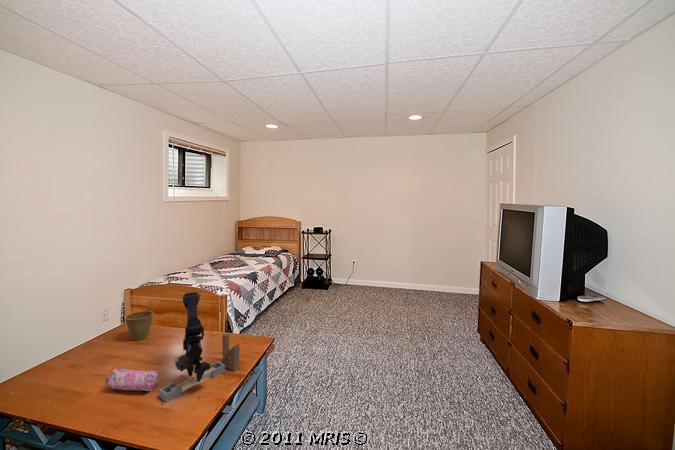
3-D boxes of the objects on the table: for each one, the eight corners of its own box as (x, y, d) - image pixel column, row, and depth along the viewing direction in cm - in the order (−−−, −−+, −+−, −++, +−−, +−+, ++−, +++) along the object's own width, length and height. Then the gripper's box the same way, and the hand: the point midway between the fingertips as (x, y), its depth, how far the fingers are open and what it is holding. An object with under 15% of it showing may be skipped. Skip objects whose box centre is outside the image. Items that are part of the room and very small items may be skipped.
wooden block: (234, 371, 152) (234, 339, 151) (220, 365, 157) (220, 334, 156) (239, 368, 155) (239, 336, 154) (226, 362, 160) (226, 331, 159)
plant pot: (141, 332, 197) (141, 309, 196) (158, 335, 193) (158, 312, 192) (120, 341, 183) (119, 317, 182) (138, 345, 179) (137, 320, 178)
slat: (170, 394, 133) (169, 388, 133) (213, 372, 152) (212, 367, 151) (173, 397, 132) (173, 390, 131) (216, 374, 150) (216, 368, 150)
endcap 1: (159, 396, 131) (159, 389, 131) (174, 388, 137) (174, 382, 137) (166, 402, 127) (165, 394, 127) (181, 394, 133) (181, 386, 133)
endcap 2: (225, 371, 152) (225, 365, 152) (213, 377, 146) (213, 371, 146) (218, 367, 156) (218, 361, 156) (206, 373, 150) (206, 366, 150)
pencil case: (104, 392, 134) (104, 374, 133) (121, 380, 143) (120, 363, 142) (146, 396, 131) (146, 377, 131) (160, 384, 140) (160, 366, 140)
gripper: (167, 350, 139) (168, 380, 140) (187, 362, 129) (188, 395, 130) (190, 341, 148) (190, 370, 149) (210, 352, 138) (211, 382, 139)
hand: (194, 379), depth 141 cm, fingers open, 7 cm apart
